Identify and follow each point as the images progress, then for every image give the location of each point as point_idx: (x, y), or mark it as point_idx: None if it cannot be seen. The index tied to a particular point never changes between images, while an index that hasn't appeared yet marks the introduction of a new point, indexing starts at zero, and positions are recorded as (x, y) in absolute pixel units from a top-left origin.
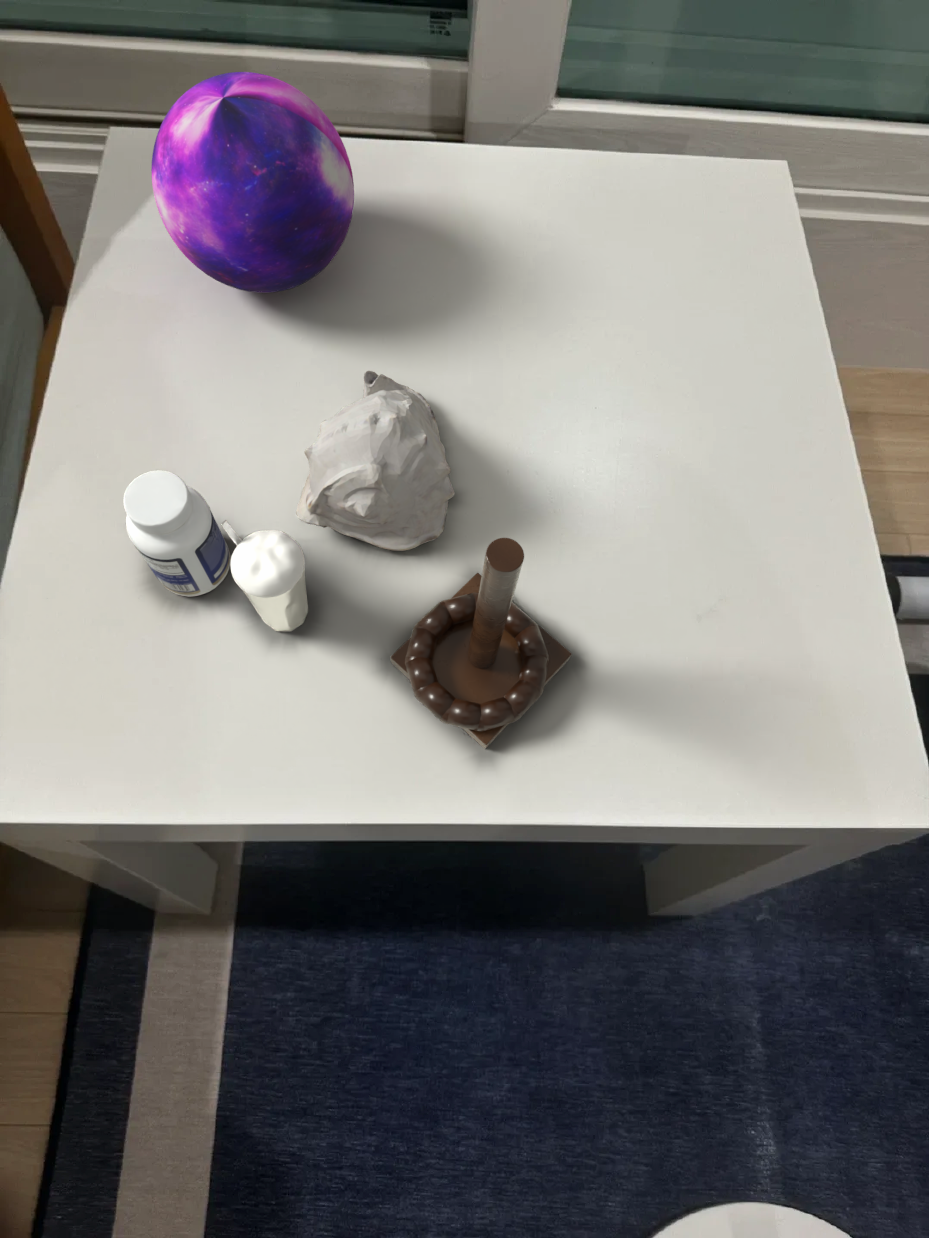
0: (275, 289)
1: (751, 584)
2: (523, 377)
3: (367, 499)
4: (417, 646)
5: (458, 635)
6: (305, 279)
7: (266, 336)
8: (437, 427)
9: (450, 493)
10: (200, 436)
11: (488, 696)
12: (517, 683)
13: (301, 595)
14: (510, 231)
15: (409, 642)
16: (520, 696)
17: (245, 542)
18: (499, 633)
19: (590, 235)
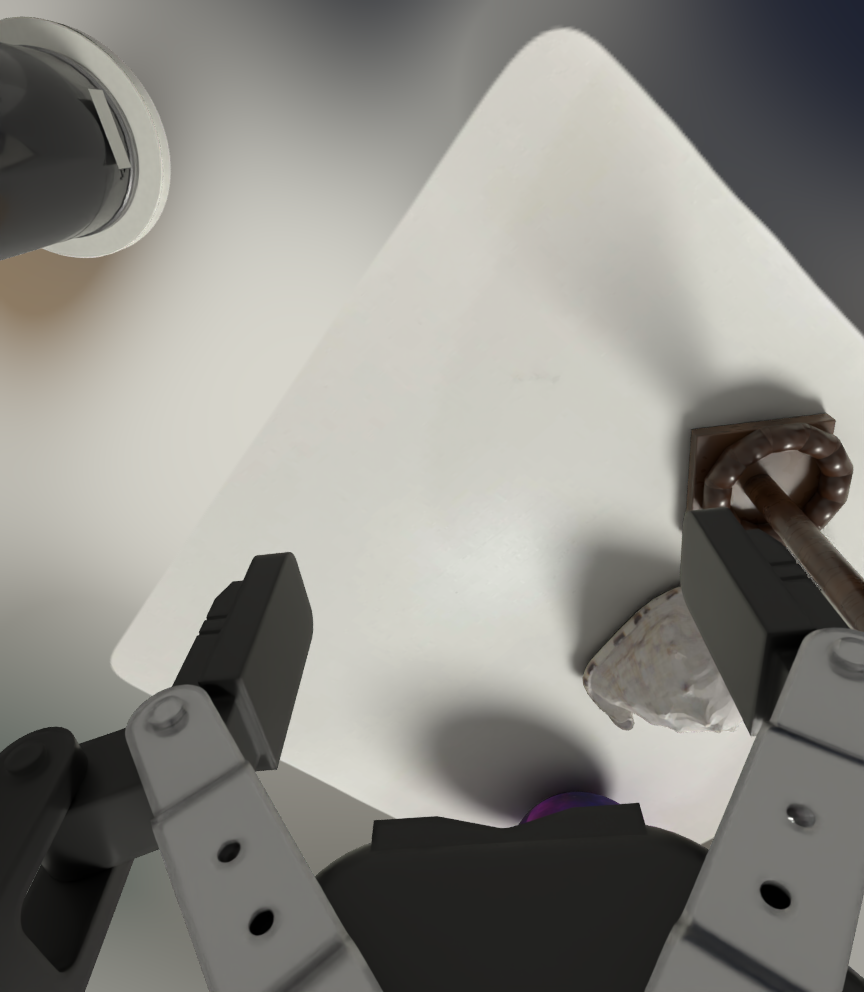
0: (615, 804)
1: (479, 371)
2: (487, 645)
3: None
4: None
5: (756, 512)
6: (592, 802)
7: (626, 767)
8: (598, 656)
9: (671, 623)
10: (736, 735)
11: (791, 453)
12: (777, 452)
13: (849, 626)
14: (385, 741)
15: None
16: (791, 443)
17: None
18: (808, 524)
19: (324, 707)
